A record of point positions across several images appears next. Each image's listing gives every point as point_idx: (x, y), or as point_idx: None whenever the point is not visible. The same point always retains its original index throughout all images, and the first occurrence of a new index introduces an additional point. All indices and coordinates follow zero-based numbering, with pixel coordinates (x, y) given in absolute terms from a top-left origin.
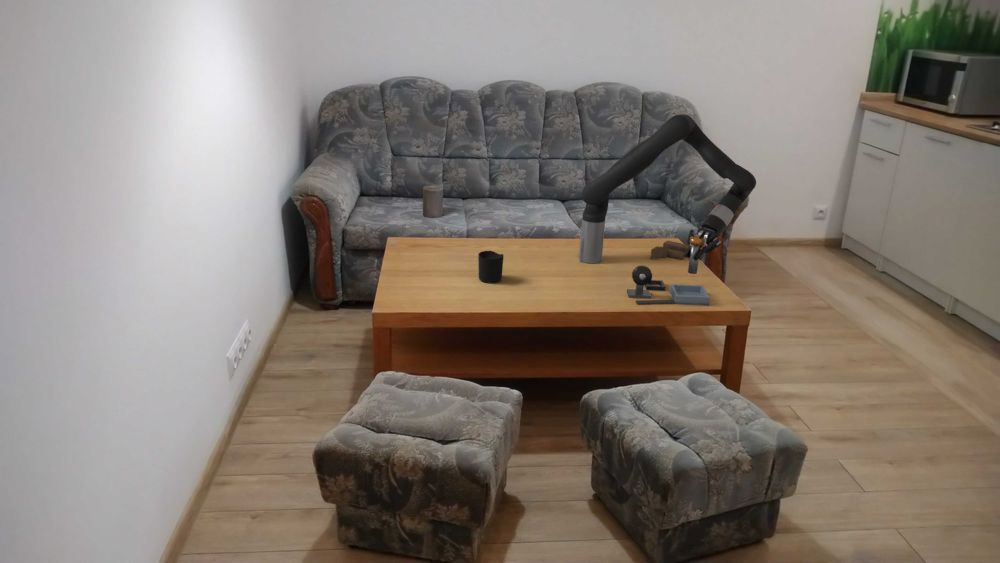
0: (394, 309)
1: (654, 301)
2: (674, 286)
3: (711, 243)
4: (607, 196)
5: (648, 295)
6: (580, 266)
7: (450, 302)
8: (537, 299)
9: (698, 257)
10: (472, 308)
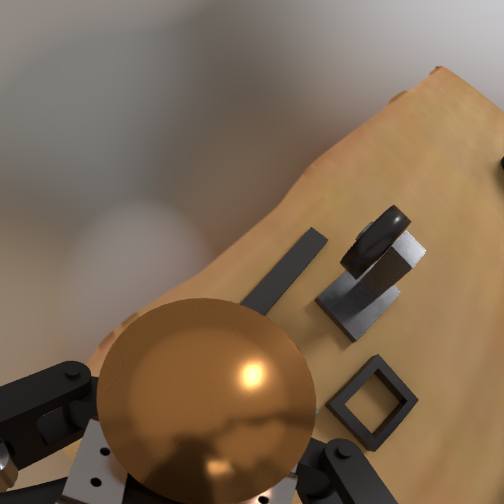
0: (446, 71)
1: (284, 271)
2: None
3: (9, 405)
4: None
5: (326, 294)
6: None
7: (452, 95)
8: (433, 140)
9: None
10: (429, 89)
